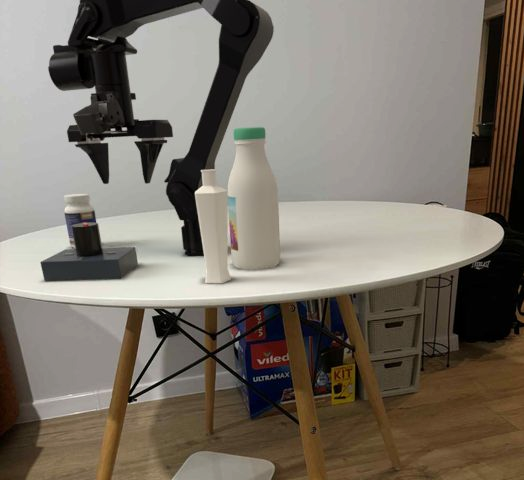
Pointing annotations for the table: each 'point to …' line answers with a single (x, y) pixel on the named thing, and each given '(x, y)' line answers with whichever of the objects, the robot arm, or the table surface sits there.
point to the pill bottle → (78, 212)
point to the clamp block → (89, 265)
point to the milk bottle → (253, 203)
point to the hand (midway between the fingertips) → (126, 183)
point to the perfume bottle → (213, 227)
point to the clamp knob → (87, 239)
